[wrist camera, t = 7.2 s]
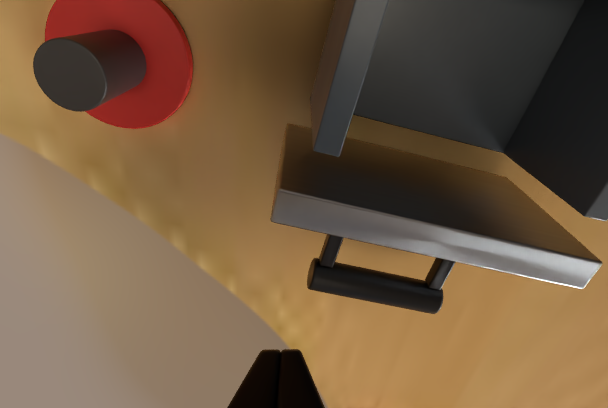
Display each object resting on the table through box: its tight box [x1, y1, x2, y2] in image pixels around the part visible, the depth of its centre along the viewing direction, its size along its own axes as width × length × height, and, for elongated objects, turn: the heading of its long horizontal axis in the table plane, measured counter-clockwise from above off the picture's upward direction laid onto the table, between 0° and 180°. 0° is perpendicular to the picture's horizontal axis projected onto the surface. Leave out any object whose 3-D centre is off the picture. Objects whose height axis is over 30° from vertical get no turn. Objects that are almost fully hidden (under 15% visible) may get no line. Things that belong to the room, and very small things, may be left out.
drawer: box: [271, 0, 608, 314], centre depth 14 cm, size 17×11×7 cm, turn 166°
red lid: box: [33, 0, 193, 129], centre depth 15 cm, size 6×6×4 cm
